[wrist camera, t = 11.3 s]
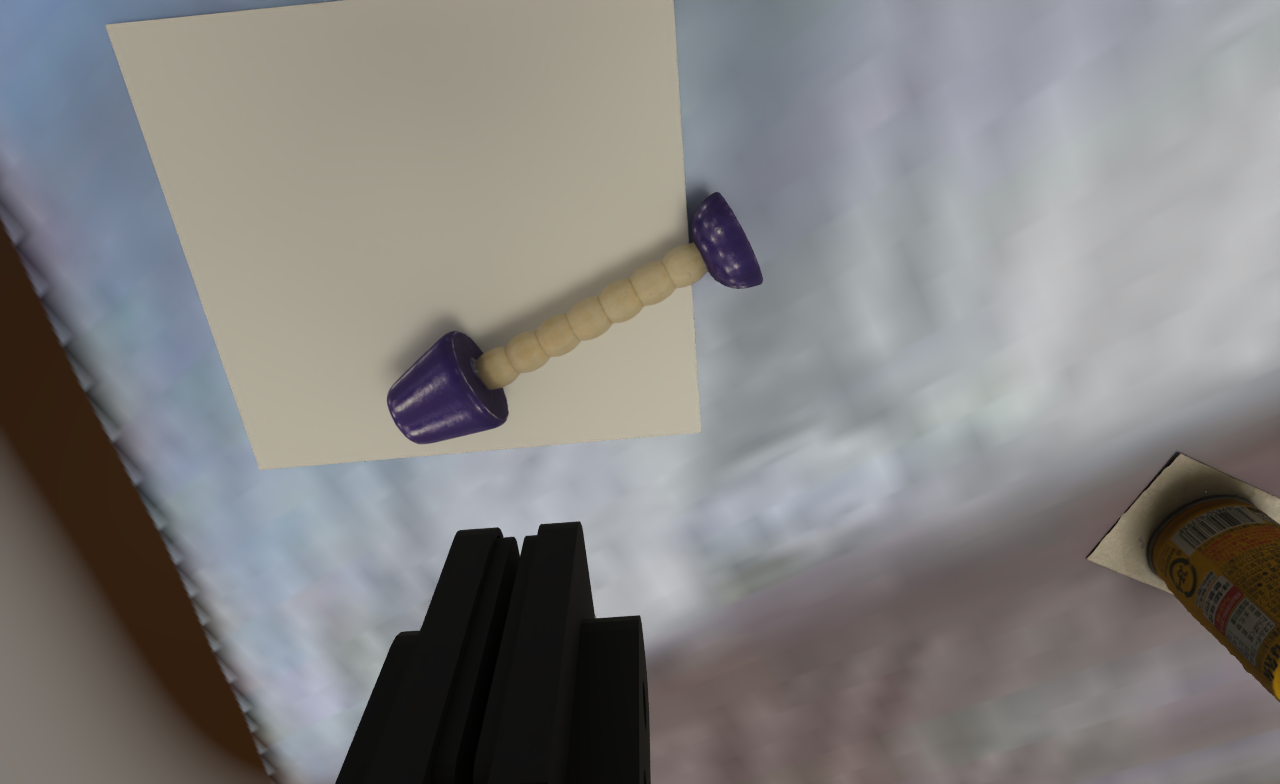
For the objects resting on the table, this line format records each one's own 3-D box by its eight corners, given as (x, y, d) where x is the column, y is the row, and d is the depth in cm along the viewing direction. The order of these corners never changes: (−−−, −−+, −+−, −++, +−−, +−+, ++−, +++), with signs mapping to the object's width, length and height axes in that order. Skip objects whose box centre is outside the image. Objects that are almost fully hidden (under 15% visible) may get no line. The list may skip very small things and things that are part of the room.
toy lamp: (778, 307, 31) (424, 482, 32) (749, 273, 35) (437, 430, 37) (733, 202, 29) (357, 396, 30) (708, 179, 33) (379, 350, 34)
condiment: (1204, 607, 43) (1401, 799, 32) (1085, 557, 41) (1249, 740, 30) (1300, 507, 40) (1551, 680, 29) (1176, 450, 38) (1392, 609, 28)
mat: (114, 25, 30) (105, 24, 29) (670, -32, 29) (671, -33, 29) (264, 463, 38) (259, 469, 38) (699, 426, 38) (700, 432, 37)
